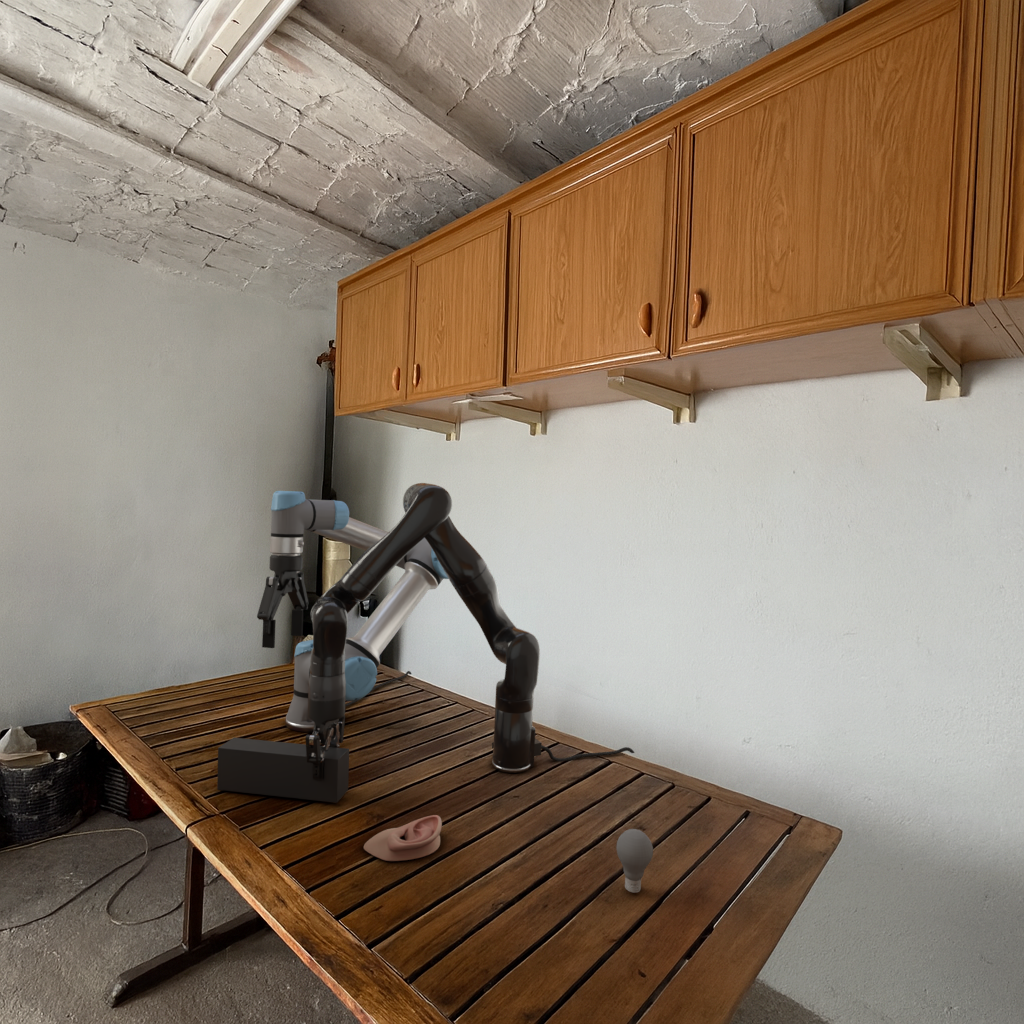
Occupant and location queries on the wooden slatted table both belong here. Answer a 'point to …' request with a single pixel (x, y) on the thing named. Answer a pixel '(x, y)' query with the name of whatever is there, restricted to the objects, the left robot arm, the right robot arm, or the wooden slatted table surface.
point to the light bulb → (634, 857)
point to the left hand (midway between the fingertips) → (283, 641)
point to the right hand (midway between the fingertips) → (325, 772)
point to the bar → (280, 770)
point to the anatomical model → (407, 840)
